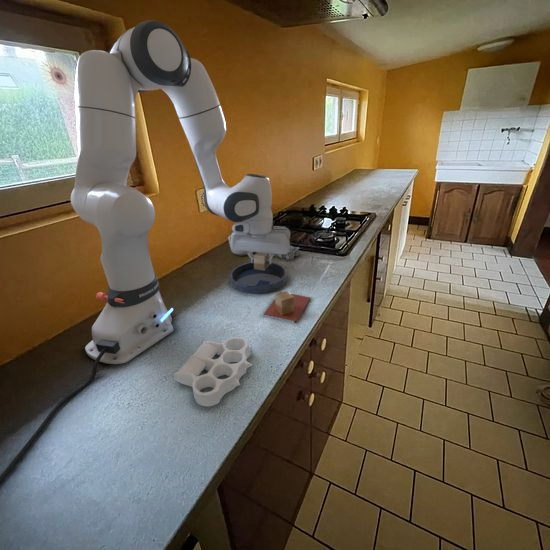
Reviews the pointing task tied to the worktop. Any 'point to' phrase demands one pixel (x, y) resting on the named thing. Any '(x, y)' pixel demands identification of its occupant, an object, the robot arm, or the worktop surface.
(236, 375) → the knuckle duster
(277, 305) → the block
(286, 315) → the mat
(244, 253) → the teacup
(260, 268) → the block
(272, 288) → the pan
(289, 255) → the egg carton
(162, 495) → the worktop surface
